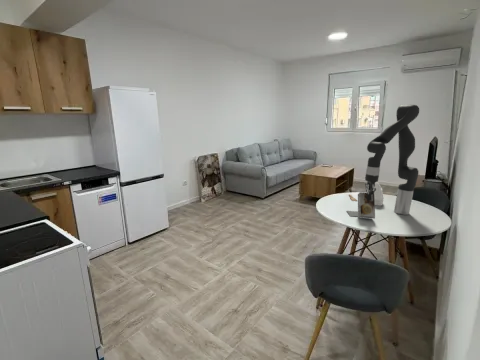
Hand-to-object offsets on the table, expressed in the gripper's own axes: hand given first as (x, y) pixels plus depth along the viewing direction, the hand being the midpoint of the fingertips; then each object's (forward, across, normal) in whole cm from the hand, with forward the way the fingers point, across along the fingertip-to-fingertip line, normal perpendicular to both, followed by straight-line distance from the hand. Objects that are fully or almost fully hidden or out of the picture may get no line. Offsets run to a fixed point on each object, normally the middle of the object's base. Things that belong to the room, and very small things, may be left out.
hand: (368, 199), depth 169 cm
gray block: (+13, -8, -1) cm, 15 cm away
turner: (+14, -46, +4) cm, 48 cm away
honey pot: (+14, -38, +18) cm, 44 cm away
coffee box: (+12, +1, 0) cm, 12 cm away
